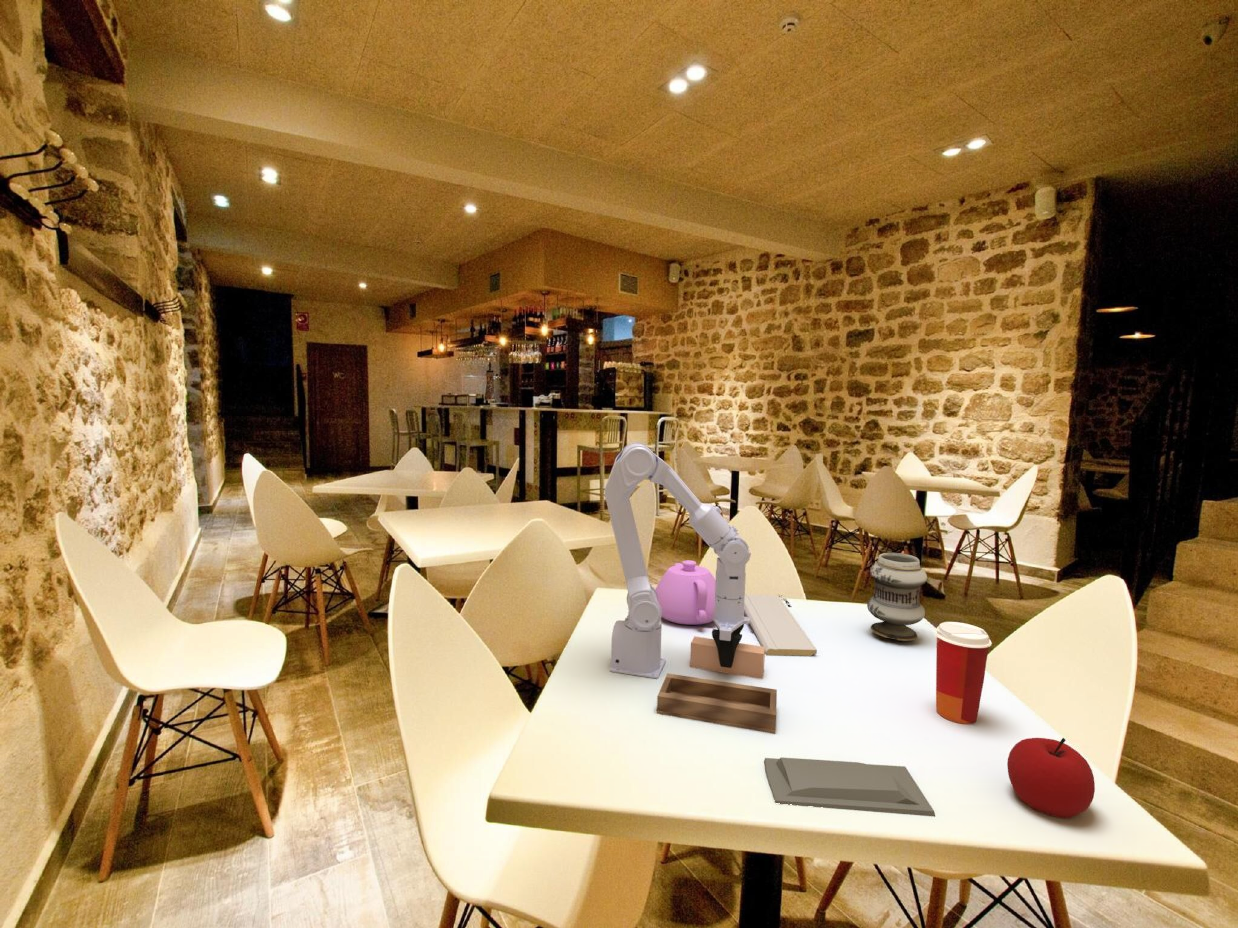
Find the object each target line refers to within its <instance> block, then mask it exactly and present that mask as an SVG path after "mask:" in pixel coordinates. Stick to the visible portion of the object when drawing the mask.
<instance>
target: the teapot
mask: <svg viewBox="0 0 1238 928" xmlns="http://www.w3.org/2000/svg"><path fill="white" fill-rule="evenodd" d="M715 581H716V578H715V577H714V575H713V574H712V572H711V571H710V570H709V569H708V568H706V567H705V566H704V567H703V566H702V565H701V566H699V565H697V562H696V561H694V560H689V559H688V560H683V561H682V562H681V563H680V562H676V563H674V564H673V565H672V566H669V568H668V569H667V570H666V571H665V573H664V574H663V575H662V577H661V578H660V580H659V582H658V583H657V585H656V588H655V591H656V593H657V596H658V602H659V605H660V607H661V610H662V617H661V618H662V619H664V620H666V621H669V622H671V623H675V624H679V625H690V626H691V625H692V626H693V625H694V626H695V625H704V624H709V623H711V622H714V621H713V615H714V606H715Z"/></svg>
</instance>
